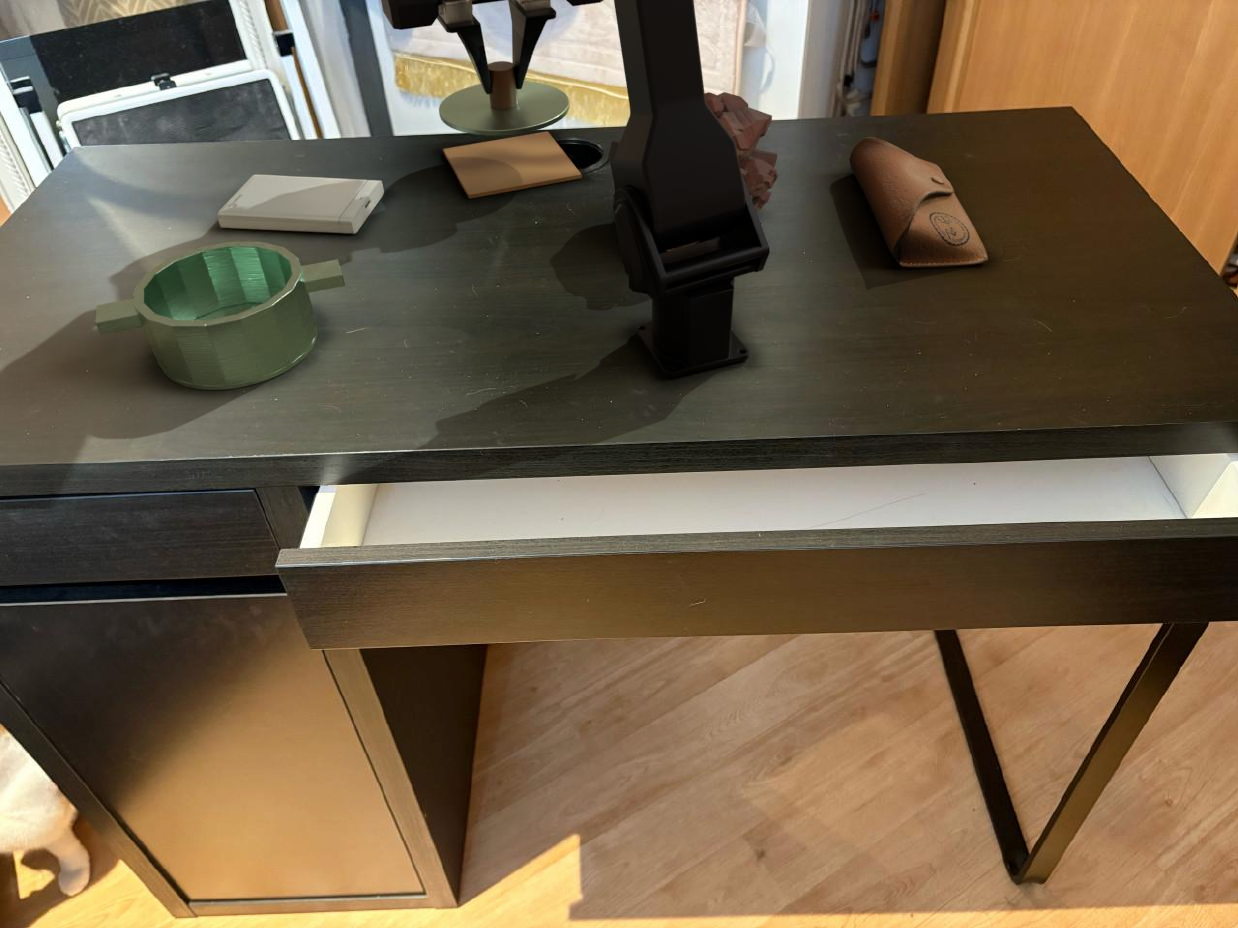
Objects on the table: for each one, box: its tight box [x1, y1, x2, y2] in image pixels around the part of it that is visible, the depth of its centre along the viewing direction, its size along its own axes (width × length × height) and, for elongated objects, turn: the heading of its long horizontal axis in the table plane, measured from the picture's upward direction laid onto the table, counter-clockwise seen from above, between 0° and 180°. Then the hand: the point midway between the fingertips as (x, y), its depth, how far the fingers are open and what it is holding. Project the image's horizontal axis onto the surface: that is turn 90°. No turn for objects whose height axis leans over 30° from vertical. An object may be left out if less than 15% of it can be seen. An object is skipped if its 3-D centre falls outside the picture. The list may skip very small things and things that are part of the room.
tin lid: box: [438, 60, 571, 137], centre depth 89 cm, size 12×12×5 cm
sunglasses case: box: [849, 136, 989, 269], centre depth 83 cm, size 18×7×7 cm, turn 2°
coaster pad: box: [442, 130, 583, 200], centre depth 94 cm, size 11×11×1 cm
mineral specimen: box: [612, 91, 780, 252], centre depth 80 cm, size 12×13×15 cm
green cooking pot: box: [94, 241, 346, 391], centre depth 70 cm, size 11×17×5 cm
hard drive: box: [216, 174, 385, 235], centre depth 87 cm, size 2×8×12 cm
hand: (503, 90), depth 89 cm, fingers closed on tin lid, 3 cm apart
